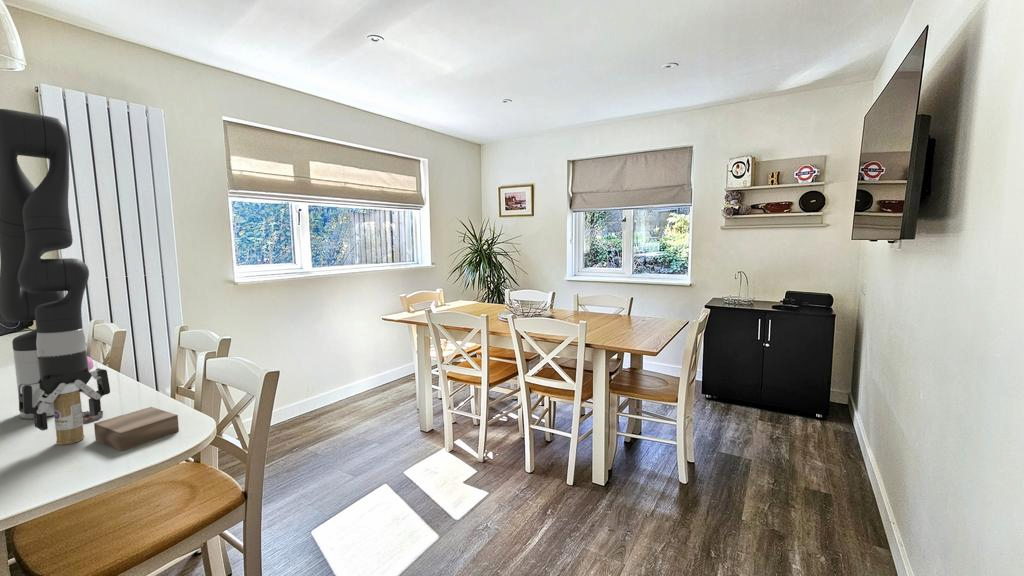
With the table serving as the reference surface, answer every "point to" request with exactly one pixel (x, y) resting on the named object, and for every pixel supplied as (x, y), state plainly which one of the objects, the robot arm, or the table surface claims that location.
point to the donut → (91, 417)
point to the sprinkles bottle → (68, 415)
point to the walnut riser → (136, 428)
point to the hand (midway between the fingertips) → (69, 422)
